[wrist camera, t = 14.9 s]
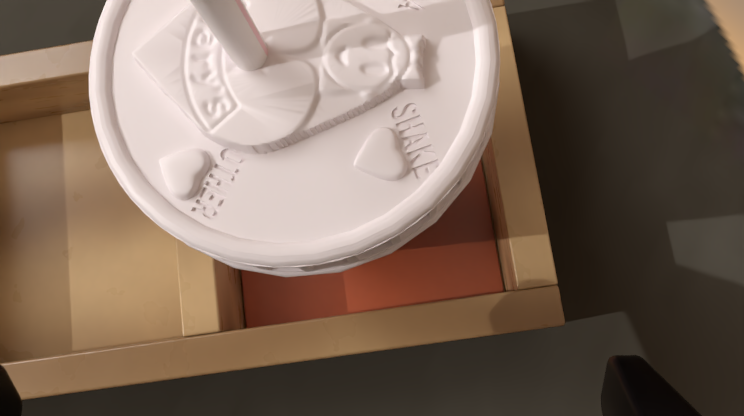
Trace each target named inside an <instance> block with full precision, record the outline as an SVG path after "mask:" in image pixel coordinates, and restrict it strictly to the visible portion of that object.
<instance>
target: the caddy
mask: <svg viewBox="0 0 744 416" xmlns="http://www.w3.org/2000/svg"><path fill="white" fill-rule="evenodd" d="M490 2H491V4H492V8H493V12H494V16H495V19H496V23H497V30H498V37H499V45H500V73H499V81H500V85H499V91H498V98H497V104H496V111H495V117H494V124H493V130H492V134H491V137H490V139H489V141H488V143H487V145H486V148H485V150H484V152H483V154H482V156H481V159H480V161H479V163H478V165H477V167H476V170H475V172H474V174H473V176H472V179H471V181H470V182H469V183H468V184H467V186H466V187H465V188H464V189H463V190H462V192H461V193H460V194H459V195H458V196H457V198H456V199H455V200H454V201H453V202H452V204H451V205H450V206H449V207H448V208H447V210H446V211H445V212H444V213H443V214H442V216H441V217H440V218H439V219H438V220H437V222H436V223H434V224H433V225H431V226H430V227H428V228H427V229H426V230H424V231H423V232H421V233H420V234H419V235H417V236H416V237H414V238H413V239H411V240H410V241H409V242H407V243H406V244H404V245H403V246H401V247H400V248H399V249H397V250H396V251H394V252H393V253H392V254H389V255H386V256H383V257H381V258H378V259H375V260H373V261H370V262H367V263H364V264H362V265H359V266H356V267H354V268H351V269H348V270H345V271H343V272H340V273H329V274H318V275H307V276H296V277H281V276H276V275H270V274H264V273H259V272H253V271H247V270H242V269H236V268H233V267H231V266H229V265H227V264H225V263H222V262H220V261H218V260H216V259H214V258H212V257H210V256H208V255H206V254H204V253H202V252H200V251H198V250H195V249H193V248H191V247H189V246H187V245H186V244H185V243H184V242H182V241H181V240H179V239H177V238H175V237H174V236H172V235H171V234H169V233H168V232H167V231H165V230H164V229H162V228H161V227H159V226H158V225H157V224H156V223H155V222H154V221H152V220H151V219H150V218H149V217H148V216H147V215H145V214H144V213H143V212H142V210H141V209H140V208H139V207H138V206H137V205H136V204H135V203H134V202H133V201H132V200H131V199H130V197H129V196H128V195H127V193H126V192H125V191H124V189H123V188H122V187H121V185H120V184H119V182H118V181H117V179H116V177H115V176H114V174H113V172H112V171H111V169H110V167H109V165H108V163H107V161H106V159H105V157H104V154H103V152H102V150H101V147H100V144H99V141H98V138H97V135H96V132H95V128H94V124H93V119H92V115H91V108H90V99H89V66H90V56H91V50H92V45H93V40H91V41H85V42H79V43H73V44H67V45H61V46H55V47H49V48H43V49H37V50H31V51H25V52H19V53H13V54H7V55H1V56H0V365H2V366H3V367H4V368H5V369H6V371H7V373H8V375H9V376H10V378H11V380H12V382H13V384H14V386H15V387H16V389H17V391H18V393H19V395H20V397H21V400H27V399H34V398H42V397H49V396H56V395H63V394H71V393H78V392H85V391H92V390H100V389H107V388H114V387H121V386H129V385H136V384H143V383H150V382H158V381H165V380H172V379H180V378H187V377H194V376H201V375H209V374H216V373H223V372H230V371H238V370H245V369H252V368H259V367H267V366H274V365H281V364H288V363H296V362H303V361H310V360H318V359H325V358H332V357H339V356H347V355H354V354H361V353H368V352H376V351H383V350H390V349H397V348H405V347H412V346H419V345H427V344H434V343H441V342H448V341H456V340H463V339H470V338H477V337H485V336H492V335H499V334H506V333H514V332H521V331H528V330H535V329H543V328H550V327H557V326H563V325H565V318H564V313H563V308H562V303H561V297H560V292H559V287H558V286H557V285H556V284H558V280H557V275H556V270H555V265H554V259H553V254H552V249H551V244H550V238H549V233H548V228H547V223H546V217H545V212H544V207H543V202H542V196H541V191H540V186H539V181H538V175H537V170H536V165H535V160H534V154H533V149H532V144H531V139H530V133H529V128H528V123H527V118H526V112H525V107H524V102H523V97H522V91H521V86H520V81H519V76H518V71H517V65H516V60H515V55H514V50H513V44H512V39H511V34H510V29H509V23H508V18H507V13H506V8H505V6H504V4H505V3H504V0H490Z"/></svg>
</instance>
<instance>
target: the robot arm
mask: <svg viewBox="0 0 744 416" xmlns="http://www.w3.org/2000/svg"><path fill="white" fill-rule="evenodd" d="M601 407H602V413H603V416H702V415H701V414H700V413H699V412H697V411H696V410H695V409H694V408H693V407H692V406H691V405H690V404H689V403H688V402H687V401H686V400H685V399H684V398H683V397H682V396H681V395H680V394H679V393H678V392H677V391H676V390H675V389H674V388H673V387H672V386H671V385H670V384H669V383H668V382H667V381H666V380H665V379H664V378H663V377H662V376H661V375H660V374H659V373H658V372H657V371H655V370H654V369H653V368H652V367H651V366H650V365H649V364H648V363H647V362H646V361H645V360H644V359H643V358H641V357H640V356H636V355H617V356H612V357H610V358H609V360H608V362H607V367H606V372H605V377H604V383H603V388H602V393H601ZM21 412H22V400H21V397H20V395H19V393H18V391H17V389H16V387H15V386H14V384H13V382H12V380H11V378H10V376H9V375H8V373H7V371H6V369H5V368H4V367H3V366H2V365H0V416H21Z"/></svg>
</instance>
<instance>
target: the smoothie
mask: <svg viewBox="0 0 744 416" xmlns="http://www.w3.org/2000/svg"><path fill="white" fill-rule="evenodd" d="M499 73H500V45H499V37H498V30H497V23H496V19H495V16H494V12H493V8H492V4H491V2H490V0H107V1H106V3H105V6H104V8H103V11H102V14H101V16H100V19H99V21H98V25H97V29H96V32H95V36H94V39H93V45H92V50H91V56H90V66H89V99H90V108H91V115H92V119H93V124H94V128H95V132H96V135H97V138H98V141H99V144H100V147H101V150H102V152H103V154H104V157H105V159H106V161H107V163H108V165H109V167H110V169H111V171H112V172H113V174H114V176H115V177H116V179H117V181H118V182H119V184H120V185H121V187H122V188H123V189H124V191H125V192H126V193H127V195H128V196H129V197H130V199H131V200H132V201H133V202H134V203H135V204H136V205H137V206H138V207H139V208H140V209H141V210H142V212H143V213H144V214H145V215H147V216H148V217H149V218H150V219H151V220H152V221H154V222H155V223H156V224H157V225H158V226H159V227H161V228H162V229H164V230H165V231H167V232H168V233H169V234H171V235H172V236H174V237H175V238H177V239H179V240H181V241H182V242H184V243H185V244H186V245H187V246H189V247H191V248H193V249H195V250H198V251H200V252H202V253H204V254H206V255H208V256H210V257H212V258H214V259H216V260H218V261H220V262H222V263H225V264H227V265H229V266H231V267H233V268H236V269H242V270H247V271H253V272H259V273H264V274H270V275H276V276H281V277H296V276H307V275H318V274H329V273H340V272H343V271H345V270H348V269H351V268H354V267H356V266H359V265H362V264H364V263H367V262H370V261H373V260H375V259H378V258H381V257H383V256H386V255H389V254H392V253H393V252H394V251H396V250H397V249H399V248H400V247H401V246H403V245H404V244H406V243H407V242H409V241H410V240H411V239H413V238H414V237H416V236H417V235H419V234H420V233H421V232H423V231H424V230H426V229H427V228H428V227H430V226H431V225H433V224H434V223H436V222H437V220H438V219H439V218H440V217H441V216H442V214H443V213H444V212H445V211H446V210H447V208H448V207H449V206H450V205H451V204H452V202H453V201H454V200H455V199H456V198H457V196H458V195H459V194H460V193H461V192H462V190H463V189H464V188H465V187H466V186H467V184H468V183H469V182H470V181H471V179H472V176H473V174H474V172H475V170H476V167H477V165H478V163H479V161H480V159H481V156H482V154H483V152H484V150H485V148H486V145H487V143H488V141H489V139H490V137H491V134H492V130H493V124H494V117H495V111H496V104H497V98H498V91H499V85H500V81H499Z"/></svg>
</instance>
